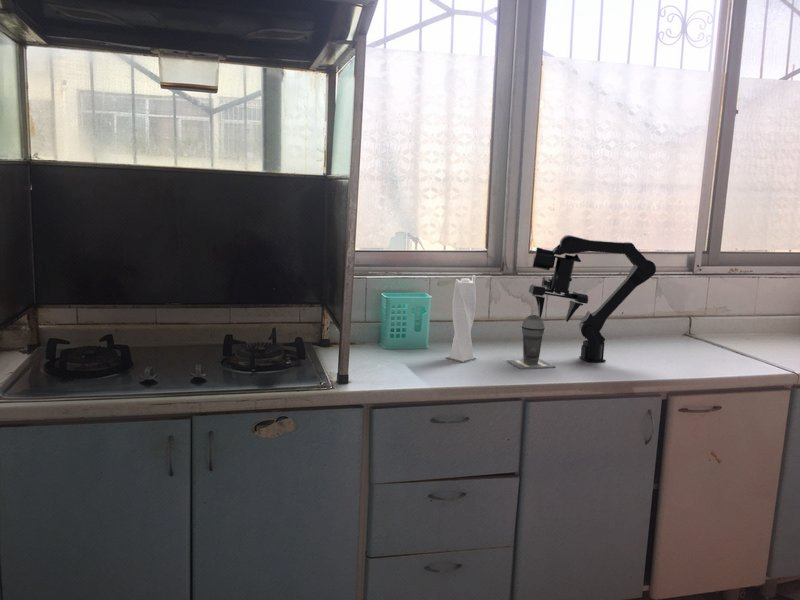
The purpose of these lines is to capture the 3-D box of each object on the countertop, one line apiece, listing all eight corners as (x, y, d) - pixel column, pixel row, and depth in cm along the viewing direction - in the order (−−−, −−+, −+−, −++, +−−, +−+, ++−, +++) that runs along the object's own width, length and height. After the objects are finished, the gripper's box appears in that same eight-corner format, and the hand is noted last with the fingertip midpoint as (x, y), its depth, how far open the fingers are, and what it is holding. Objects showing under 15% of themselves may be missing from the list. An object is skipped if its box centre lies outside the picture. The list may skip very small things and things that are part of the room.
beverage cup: (535, 367, 214) (539, 304, 211) (514, 362, 219) (518, 301, 216) (546, 363, 220) (550, 301, 217) (526, 359, 225) (530, 298, 222)
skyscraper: (479, 360, 223) (484, 274, 219) (464, 364, 217) (469, 276, 213) (459, 355, 228) (463, 271, 224) (443, 359, 223) (447, 273, 218)
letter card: (540, 360, 226) (540, 358, 226) (555, 367, 216) (555, 366, 216) (506, 361, 223) (506, 360, 223) (520, 369, 213) (520, 367, 213)
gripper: (582, 275, 235) (572, 319, 237) (529, 266, 233) (520, 310, 235) (593, 279, 224) (583, 325, 226) (537, 269, 222) (528, 316, 224)
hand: (553, 319), depth 228 cm, fingers open, 9 cm apart
